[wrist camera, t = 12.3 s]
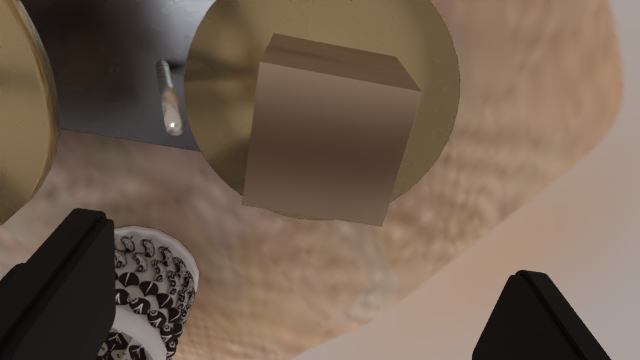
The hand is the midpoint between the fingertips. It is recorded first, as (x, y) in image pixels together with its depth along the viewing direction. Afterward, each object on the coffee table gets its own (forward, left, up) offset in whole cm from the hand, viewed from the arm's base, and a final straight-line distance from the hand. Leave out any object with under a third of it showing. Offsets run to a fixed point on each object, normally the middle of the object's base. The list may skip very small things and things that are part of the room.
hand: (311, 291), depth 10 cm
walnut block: (0, -1, -14) cm, 14 cm away
